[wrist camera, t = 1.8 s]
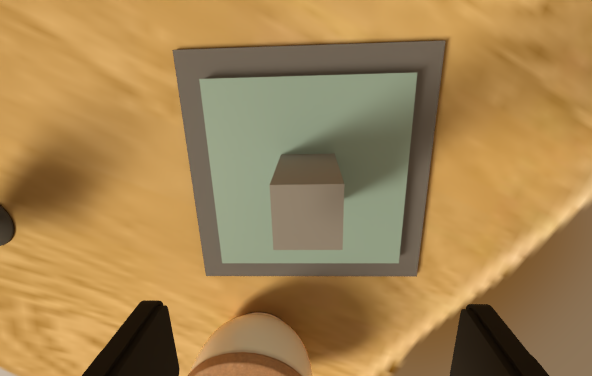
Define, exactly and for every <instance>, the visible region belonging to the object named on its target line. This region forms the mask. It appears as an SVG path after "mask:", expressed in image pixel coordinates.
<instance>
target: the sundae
mask: <svg viewBox="0 0 592 376" xmlns="http://www.w3.org/2000/svg"><path fill="white" fill-rule="evenodd" d="M13 233H14V227H13V222H12V220H11V218H10V216H9V214H8V213H7V212H6V211H5V209H4V208H2V207H1V206H0V246H1V245H4V244H6V243H8V242H9V241H10V240H11V238H12V236H13Z"/></svg>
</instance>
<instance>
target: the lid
mask: <svg viewBox="0 0 592 376" xmlns="http://www.w3.org/2000/svg"><path fill="white" fill-rule="evenodd" d="M199 81H200V89H201V97H202V105H203V113H204V121H205V129H206V137H207V145H208V153H209V161H210V169H211V177H212V185H213V193H214V201H215V209H216V217H217V225H218V233H219V241H220V249H221V257H222V263H399V256H400V246H401V235H402V225H403V215H404V205H405V194H406V184H407V174H408V164H409V153H410V143H411V133H412V123H413V113H414V102H415V92H416V82H417V73H385V74H351V75H317V76H283V77H250V78H216V79H199Z"/></svg>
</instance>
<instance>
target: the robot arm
mask: <svg viewBox="0 0 592 376" xmlns="http://www.w3.org/2000/svg"><path fill="white" fill-rule="evenodd" d="M82 376H179V364H178V358H177V353H176V348H175V343H174V338H173V332H172V327H171V322H170V317H169V311H168V307H167V306H163V303H162V302H161V301H141V302H140V303H139V305H138V306H137V307H136V308H135V310H134V311H133V312H132V313H131V315H130V316H129V317H128V318H127V320H126V321H125V322H124V324H123V325H122V326H121V327H120V329H119V330H118V331H117V332H116V334H115V335H114V336H113V337H112V339H111V340H110V341H109V343H108V344H107V345H106V346H105V348H104V349H103V350H102V351H101V352H100V353H99V355H98V356H97V357H96V358H95V360H94V361H93V362H92V363H91V365H90V366H89V367H88V369H87V370H86V371H85V372H84V374H83V375H82ZM450 376H549V375H548V374H547V372H546V371H545V370H544V369H543V368H542V366H541V365H540V364H539V363H538V362H537V360H536V359H535V358H534V357H533V356H532V355H530V354H529V352H528V351H527V350H526V349H525V347H524V346H523V345H522V344H521V343H520V342H519V340H518V339H517V337H516V336H515V335H514V334H513V333H512V331H511V330H510V329H509V328H508V326H507V325H506V324H505V323H504V321H503V320H502V319H501V318H500V316H499V315H498V314H497V313H496V312H495V310H494V309H493V308H492V307H491V306H490V305H487V304H486V305H485V304H484V305H483V304H469V305H467V307H466V309H462V310H461V314H460V320H459V325H458V331H457V336H456V342H455V348H454V354H453V360H452V365H451V371H450Z"/></svg>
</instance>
